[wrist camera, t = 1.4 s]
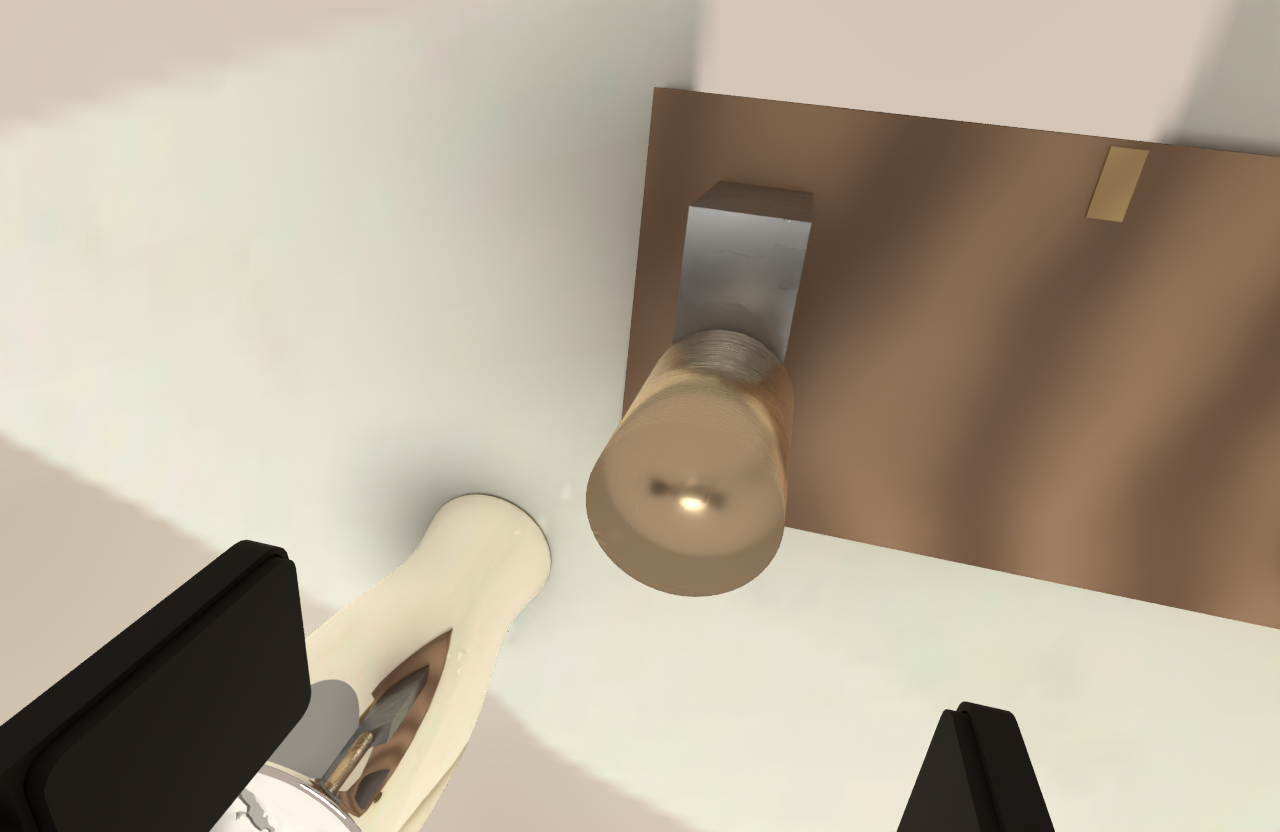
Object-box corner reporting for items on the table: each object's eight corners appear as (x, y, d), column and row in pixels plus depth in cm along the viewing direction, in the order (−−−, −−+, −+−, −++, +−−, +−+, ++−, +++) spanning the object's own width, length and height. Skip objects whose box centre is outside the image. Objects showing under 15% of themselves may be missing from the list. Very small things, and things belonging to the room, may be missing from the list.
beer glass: (415, 579, 36) (173, 869, 22) (432, 463, 32) (162, 721, 19) (545, 628, 35) (376, 957, 22) (575, 515, 32) (398, 818, 18)
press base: (1666, 199, 19) (2110, 254, 13) (1369, 625, 26) (1561, 809, 19) (663, 87, 24) (603, 84, 17) (623, 473, 30) (569, 579, 24)
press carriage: (829, 195, 22) (839, 284, 12) (772, 470, 27) (741, 719, 16) (703, 178, 23) (604, 249, 12) (668, 449, 27) (572, 676, 17)
